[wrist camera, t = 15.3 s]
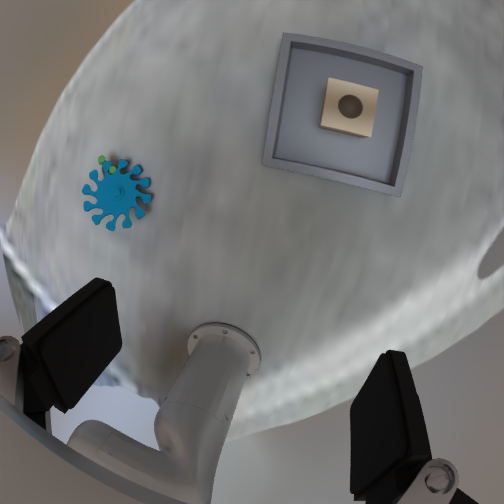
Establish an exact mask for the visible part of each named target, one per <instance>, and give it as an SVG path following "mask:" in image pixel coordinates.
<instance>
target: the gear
mask: <svg viewBox="0 0 504 504" xmlns="http://www.w3.org/2000/svg"><path fill="white" fill-rule="evenodd" d="M98 161H99V164H100V165H103V166H102V172H103V175H104V179H103V180H102V181H99V180H98V171H97V170H93V171H92V172H90V173H89V177H90V179H92V180H93V181H95V182H96V184H97V187H98V189H97V191H95V192H93V191H91V188H90V186H89V185H88V184H85V185H84V187H83V189H82V193H83V194H84V195H92V196H94V197H95V198H96V199H97V203H96V204H91V203H90V202H89V201H85V202H84V211H90V210H91V209H94V208H100V209H103V213H102V214H101V215H93V216H92V220H93V222H94V223H95V225H98V224H99V223H100V221H101V220H102V219H103V218H104V217H105V216H107V215H109V214H112V215H113V216H114V219H113V220H112V221H110V222H108V223H107V224H106V228H107V229H109V230H111V231H114V230H115V223H116V220H117V218H118V217H119V215H120V214H124V215H125V216H126V219H125V220H124V221H123V224H122V226H123V228H130V227H131V226H132V222H131V221H130V218H129V209H130V208H132V207H134V208H135V209H136V218H137V219H140V218H142V217H143V216H144V215H145V211H144V210H142V209H141V208H139V206H138V205H137V203H136V200H135V199H136V197H141V198H142V201H143V203H144V204H148V203H149V202H150V200H151V197H152V196H151V195H150V194H142V193H140V192H139V191H138V190H136V188H135V187H136V186H137V185H141V186H142V187H143V188H148V187H149V178H144V179H142V180H140V181H134V180H131V179H130V176H131V175H139V174H141V168H140V167H139V166H138V165H135V166H134V167H133V169H132V170H131V171H130V172H128V173H126V174H121V173H120V170H122V169H124V168H126V167H127V164H128V162H127V161H126V160H123V159H120V160H119V165H118V168H117V170H116V167H115V166H112V163H111V161H105V156H103V155H101V156H99V158H98Z"/></svg>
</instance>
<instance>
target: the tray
mask: <svg viewBox="0 0 504 504" xmlns="http://www.w3.org/2000/svg"><path fill="white" fill-rule="evenodd" d="M422 69H423V66H420V65H418V64H415V63H412V62H409V61H407V60H404V59H401V58H398V57H395V56H392V55H389V54H385V53H382V52H379V51H375V50H372V49H368V48H364V47H360V46H356V45H352V44H348V43H344V42H339V41H334V40H329V39H324V38H318V37H312V36H306V35H299V34H291V33H283V35H282V41H281V47H280V53H279V60H278V66H277V72H276V78H275V84H274V90H273V97H272V103H271V109H270V115H269V122H268V128H267V134H266V140H265V147H264V153H263V159H262V166H266V167H272V168H277V169H283V170H288V171H293V172H298V173H303V174H308V175H312V176H317V177H321V178H326V179H330V180H335V181H339V182H343V183H347V184H351V185H355V186H359V187H363V188H367V189H371V190H375V191H378V192H382V193H385V194H389V195H393V196H396V197H401V193H402V189H403V185H404V181H405V177H406V172H407V168H408V163H409V158H410V153H411V148H412V143H413V137H414V132H415V126H416V119H417V113H418V105H419V98H420V89H421V80H422ZM328 78H333V79H338V80H342V81H347V82H351V83H355V84H359V85H363V86H366V87H370V88H374V89H377V90H379V92H378V99H377V105H376V112H375V118H374V124H373V130H372V135H371V137H368V138H360V137H356V136H352V135H348V134H344V133H340V132H335V131H331V130H327V129H322V128H319V127H320V121H321V115H322V109H323V103H324V97H325V90H326V86H327V82H328Z"/></svg>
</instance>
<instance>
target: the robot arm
mask: <svg viewBox="0 0 504 504" xmlns="http://www.w3.org/2000/svg"><path fill="white" fill-rule="evenodd" d="M21 338H22V341H23V343H22V344H21V345H20V343H19V341H18V340H17V339H16V338H14V337H12V336H2V337H0V504H210V503H211V497H212V490H213V483H214V477H215V473H216V468H217V464H218V460H219V457H220V454H221V451H222V447H223V444H224V441H225V438H226V435H227V433H228V430H229V427H230V424H231V421H232V418H233V415H234V412H235V409H236V405H237V402H238V399H239V396H240V393H241V390H242V387H243V384H244V381H245V380H246V379H248V378H250V377H251V376H252V375H254V374H255V373H256V371H257V370H258V367H259V364H260V352H259V349H258V347H257V345H256V343H255V342H254V341H253V340H252V339H251V338H250V337H249V336H248V335H247V334H246V333H244V332H242V331H241V330H239V329H237V328H235V327H233V326H229V325H226V324H220V323H210V324H204V325H202V326H199V327H198V328H196V329H195V330H194V331H193V332H192V334H191V335H190V337H189V339H188V342H187V350H188V354H189V358H188V360H187V361H186V363H185V365H184V367H183V368H182V370H181V372H180V374H179V375H178V377H177V379H176V381H175V382H174V384H173V386H172V388H171V389H170V391H169V393H168V395H167V396H166V398H165V400H164V402H163V404H162V406H161V407H160V409H159V411H158V412H157V415H156V417H155V421H154V432H155V436H156V440H157V443H158V446H159V449H160V451H158V450H156V449H153V448H151V447H148V446H146V445H144V444H142V443H140V442H138V441H136V440H134V439H133V438H131V437H129V436H127V435H125V434H124V433H122V432H120V431H118V430H116V429H115V428H113V427H111V426H109V425H107V424H105V423H103V422H101V421H98V420H87V421H84V422H83V423H81V424H80V425H79V426H78V427H77V428H76V429H75V430H74V432H73V433H72V435H71V436H70V438H69V441H68V442H67V445H66V444H64V443H63V442H61V441H60V440H59V439H57V438H55V437H54V436H53V435H52V430H51V419H50V418H51V417H50V408H51V407H52V406H53V405H54V407H55V408H57V409H58V410H60V411H62V412H63V413H64V414H65V413H66V412H67V411H68V409H72V408H74V406H75V405H76V404H77V403H78V402H79V400H80V399H81V398H82V397H83V395H84V394H85V393H86V392H87V390H88V389H89V388H90V387H91V385H92V384H93V383H94V382H95V380H96V379H97V378H98V377H99V376H100V374H101V373H102V372H103V371H104V369H105V368H106V367H107V366H108V365H109V363H110V362H111V361H112V360H113V359H114V357H115V356H116V355H117V354H118V353H119V351H120V350H121V347H122V338H121V332H120V325H119V318H118V311H117V303H116V295H115V289H114V287H112V284H111V282H109V281H106V280H104V279H101V278H94V279H93V280H92V281H90V282H89V283H88V284H86V285H85V286H84V287H82V288H81V289H80V290H78V291H77V292H76V293H75V294H73V295H72V296H71V297H69V298H68V299H67V300H66V301H64V302H63V303H62V304H61V305H59V306H58V307H57V308H55V309H54V310H53V311H52V312H51V313H49V314H48V315H47V316H46V317H44V318H43V319H42V320H41V321H40V322H38V323H37V324H36V325H35V326H34V327H32V328H31V329H30V330H29V331H28V332H27V333H25V334H24V335H23V336H22V337H21ZM350 430H351V468H350V492H351V494H354V501H366V504H478V503H477V502H476V501H475V500H473V499H472V498H470V497H469V496H468V495H466V494H465V493H464V492H462V491H461V490H460V489H458V488H457V486H458V482H459V475H458V471H457V469H456V468H455V466H454V465H453V464H452V463H451V462H449V461H447V460H445V459H440V458H437V459H432V455H431V449H430V445H429V439H428V434H427V430H426V425H425V421H424V416H423V412H422V408H421V404H420V400H419V396H418V394H417V392H416V389H415V385H414V381H413V378H412V374H411V371H410V367H409V364H408V360H407V357H406V354H405V353H404V352H401V351H394V350H388V351H386V353H385V354H384V353H382V354H381V355H380V356H379V358H378V360H377V362H376V364H375V366H374V367H373V369H372V371H371V373H370V374H369V376H368V378H367V380H366V381H365V383H364V385H363V386H362V388H361V390H360V391H359V393H358V395H357V396H356V398H355V399H354V401H353V403H352V405H351V408H350Z"/></svg>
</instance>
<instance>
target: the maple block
mask: <svg viewBox="0 0 504 504" xmlns="http://www.w3.org/2000/svg"><path fill="white" fill-rule="evenodd" d="M378 92H379V90H377V89H374V88H370V87H366V86H363V85H359V84H355V83H351V82H347V81H342V80H338V79H333V78H328V82H327V86H326V90H325V97H324V103H323V109H322V115H321V121H320V127H319V128H322V129H327V130H331V131H335V132H340V133H344V134H348V135H352V136H356V137H360V138H368V137H371V135H372V130H373V124H374V118H375V112H376V105H377V99H378Z"/></svg>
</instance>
